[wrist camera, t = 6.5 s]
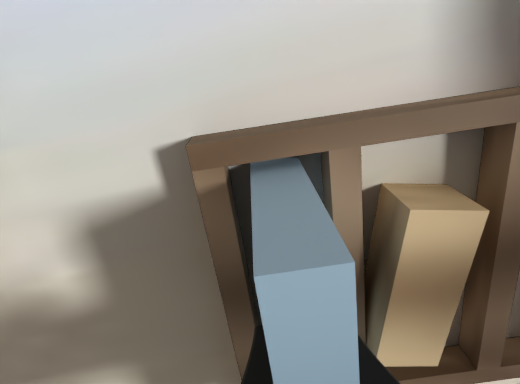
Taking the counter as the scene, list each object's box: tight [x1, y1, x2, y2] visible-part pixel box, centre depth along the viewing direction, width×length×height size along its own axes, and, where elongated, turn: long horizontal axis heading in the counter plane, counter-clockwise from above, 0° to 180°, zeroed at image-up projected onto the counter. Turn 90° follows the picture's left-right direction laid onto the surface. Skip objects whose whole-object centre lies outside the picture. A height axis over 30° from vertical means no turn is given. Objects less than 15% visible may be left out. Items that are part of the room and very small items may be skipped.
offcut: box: [364, 183, 489, 367], centre depth 15 cm, size 8×3×3 cm, turn 178°
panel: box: [250, 156, 360, 384], centre depth 12 cm, size 12×2×8 cm, turn 8°
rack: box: [186, 86, 520, 384], centre depth 15 cm, size 15×18×2 cm
